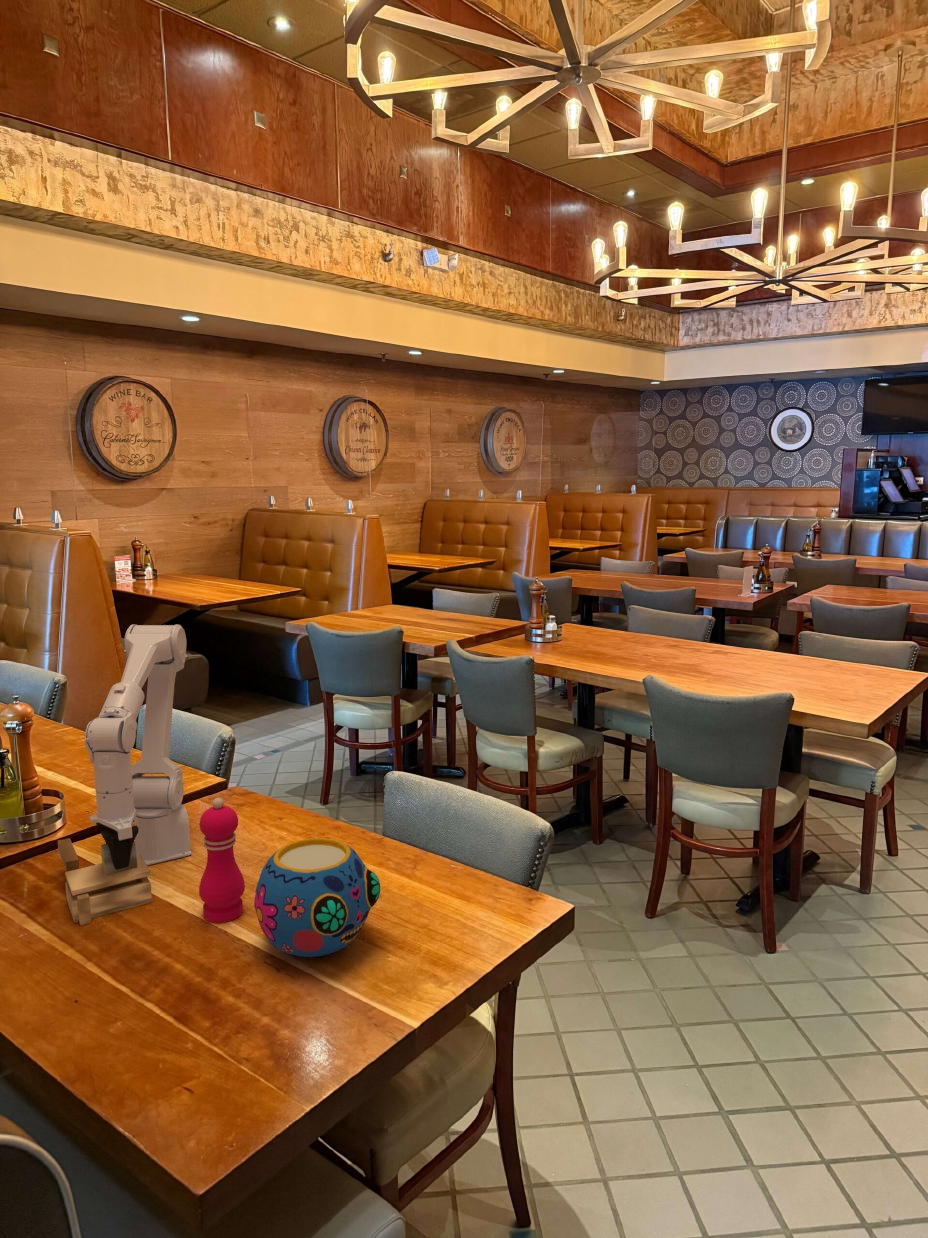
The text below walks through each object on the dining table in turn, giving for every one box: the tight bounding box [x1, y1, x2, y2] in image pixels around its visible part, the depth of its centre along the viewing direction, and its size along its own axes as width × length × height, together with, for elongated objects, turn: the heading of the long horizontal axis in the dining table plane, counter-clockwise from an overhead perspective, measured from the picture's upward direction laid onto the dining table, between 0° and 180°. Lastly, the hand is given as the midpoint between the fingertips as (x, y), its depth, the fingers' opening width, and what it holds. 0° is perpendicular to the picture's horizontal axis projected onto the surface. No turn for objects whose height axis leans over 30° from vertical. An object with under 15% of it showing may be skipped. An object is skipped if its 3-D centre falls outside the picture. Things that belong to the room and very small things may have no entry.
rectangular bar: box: [57, 838, 80, 872], centre depth 142 cm, size 2×10×2 cm, turn 33°
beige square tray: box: [64, 876, 153, 926], centre depth 136 cm, size 12×11×4 cm
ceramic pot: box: [253, 837, 381, 958], centre depth 123 cm, size 18×18×15 cm
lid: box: [64, 840, 151, 896], centre depth 136 cm, size 12×8×5 cm, turn 124°
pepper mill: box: [198, 797, 246, 924], centre depth 132 cm, size 7×7×20 cm
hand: (119, 863), depth 137 cm, fingers closed on lid, 2 cm apart
